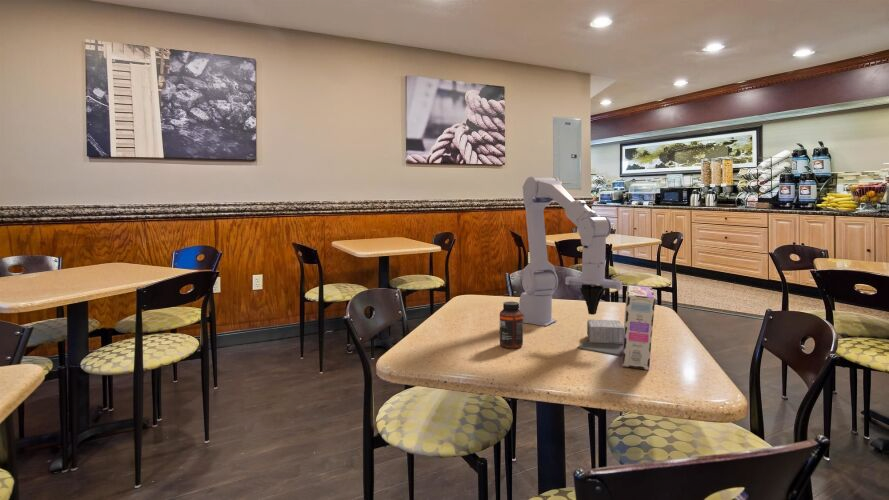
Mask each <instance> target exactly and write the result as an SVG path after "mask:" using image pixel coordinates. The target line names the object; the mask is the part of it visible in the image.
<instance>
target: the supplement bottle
mask: <svg viewBox="0 0 889 500" xmlns="http://www.w3.org/2000/svg"><path fill="white" fill-rule="evenodd" d="M502 307H503V309H502V310H500V312H499V346H500V347H502V348H505V349H510V350H512V349H514V350H515V349H520V348H521V347H523V345H524V344H523V343H524V324H523V323H524V322H523V314H522V312H521V311H520V310H519V301H512V300H511V301H504V302H503V305H502Z"/></svg>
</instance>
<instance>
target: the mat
mask: <svg viewBox="0 0 889 500" xmlns="http://www.w3.org/2000/svg"><path fill="white" fill-rule="evenodd" d="M576 349H579V350H585V351H592V352H597V353H602V354H607V355H612V356H613V355H614V356H619V357H623V344H613V343H590V342H589V339H587V340H586V341H584V342H583V343H581V344H580V345H578V346H577V347H576Z"/></svg>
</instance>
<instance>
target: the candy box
mask: <svg viewBox="0 0 889 500" xmlns="http://www.w3.org/2000/svg"><path fill="white" fill-rule="evenodd" d="M626 286H627V287H626V298H625V307H624V308H625V310H624V324H623V325H624V326H623V327H624V337H623V355H622V367H627V368H628V367H629V368H634V369H640V370H646V371H648V370H650V364H651V349H652V336H653V326H654V316H655V314H654V313H655V305H656V304H655V303H656V297H655V294H654V291H653V287H651V286H643V285H642V286H641V285H630V284H627V285H626Z"/></svg>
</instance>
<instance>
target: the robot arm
mask: <svg viewBox="0 0 889 500" xmlns="http://www.w3.org/2000/svg"><path fill="white" fill-rule="evenodd" d="M522 196H523V205H524V206H525V207H524V208H525V217H526V229H527V241H528V250H529V263H528V264H527V265H526V266H525V267H524V268H523V269H522V279H521V285H522V288H523V290H524V292H522V293H521V294H520V297H519V301H518V303H519V310H520V311H521V312H522V314H523V323H525V324H530V325H535V326H537V325H538V326H543V327H546V326H549V325H551V324H553V323H555V322H556V321H558V320H557V319H556V318H552V313H553V312H552V311H553V310H552V309H553V306H552V305H553V294H555V291H556V290H557V288H558V285H559V278H558V275H557V273H556V267H555V266H554V264H552V263H551V262H550V261H549V260H548V258H549V257H548V248H547V237H546V227H545V226H546V224H545V215H544V210H545V209H546V207H548V206H549V205H550V204H552V203H553V201H554V202H555V203H557V204H558V205H559V206H561V207H562V209H564V210H565V216H566V218H567V219H569V220H570V221H571V223H573V224H574V225H575V226H576V227H577V231H578V235H579V237H580V243H581V244H580V245H581V246H582V257H581V258H582V261H581V262H582V263H581V277H580V276H566V277H565V281H564V283H565V285H567V286H568V285H574V286H581V287H580V289H579V291H580V292H581V295H582V296H583V299H584V301H585V304H586V309H587V313H588V315H591V316H592V315H593V316H594V315H596V314H597V311H598V307H599V304H600V301H601V299H602V297H603V295H604V293H605V291H606V289H613V290H616V291H617V290H618V291H620V290H622V289H623V281H621V280H613V279H608V278H606V244H607V241H606V240H607V238H608V237H609V236H610V234H611V232H612V231H611V230H612V224H611V221H610V219H609V218H608V216H606V215H599V214H597V213H596V211H595V210H593V209H591V208H590V206H588V205H587V202H586V201H585V200H583V199H582V200H580V199H576V200H575V199H574V198H573V197H572V195H571V194H569V192H568V191H567V190H566V189H565V188H564V187H563V181H561V180H560V179H559V178H558V177H555V176H553V177H552V176H551V177H541V176H539V177H537V176H529V177H527V178H526V180H525V181H524V183H523V185H522ZM537 271H538V272H537Z"/></svg>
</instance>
